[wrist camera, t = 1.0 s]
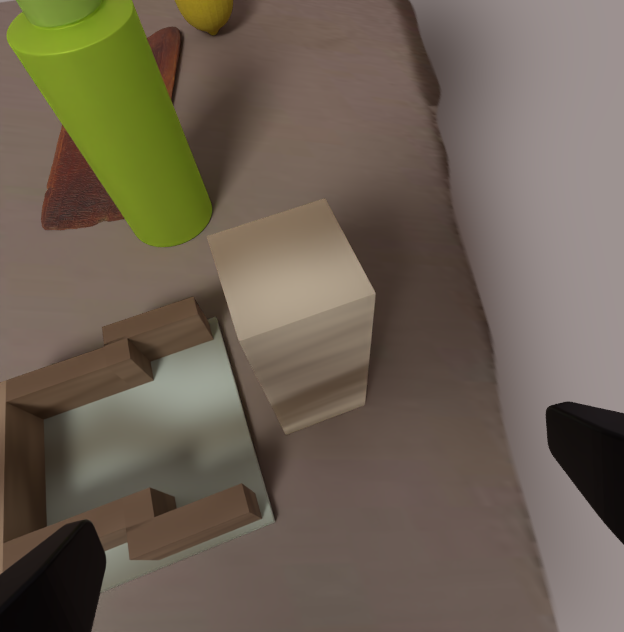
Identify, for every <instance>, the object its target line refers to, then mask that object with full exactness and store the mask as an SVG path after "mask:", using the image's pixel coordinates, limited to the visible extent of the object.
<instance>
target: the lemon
mask: <svg viewBox="0 0 624 632" xmlns="http://www.w3.org/2000/svg"><path fill="white" fill-rule="evenodd" d="M175 2H176V4H177V6H178V9H179V10H180V12H181V14H182V15H183V17H184V18H185V19H186V21H187V22H188V23H189V24H191V25H192V26H193V27H195V28H197V29H199V30H201V31H206V32H208V33H209V34H211V35H216V34H217V32H218V31H219V29H220V28H221V27H223V26H224V25H225V24H226V23H227V21H228V19H229V17H230V15H231V13H232V8H233V0H175Z"/></svg>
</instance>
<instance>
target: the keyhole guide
mask: <svg viewBox="0 0 624 632" xmlns="http://www.w3.org/2000/svg"><path fill="white" fill-rule="evenodd" d="M102 331H103V339H104V347H102V348H99V349H96V350H94V351H91V352H88V353H85V354H82V355H79V356H76V357H73V358H70V359H67V360H64V361H61V362H58V363H56V364H53V365H50V366H47V367H44V368H41V369H38V370H35V371H32V372H29V373H26V374H23V375H20V376H18V377H15V378H12V379H9V380H6V381H3V382H0V574H1V573H3V572H4V571H5V570H6V569H8V568H9V567H10V566H12V565H13V564H14V563H16V562H17V561H18V560H19V559H21V558H22V557H23V556H25V555H26V554H27V553H29V552H30V551H31V550H32V549H34V548H35V547H36V546H38V545H39V544H40V543H41V542H43V541H44V540H45V539H47V538H48V537H49V536H51V535H52V534H53V533H54V532H56V531H57V530H58V529H60V528H61V527H62V526H64V525H65V524H68V523H72V522H76V521H80V520H84V519H87V520H90V521H91V522H92V523H93V525H94V527H95V529H96V532H97V534H98V536H99V539H100V541H101V544H102V546H103V548H104V551H105V554H106V570H105V574H104V578H103V583H102V587H101V591H100V593H101V592H104V591H106V590H109V589H111V588H114V587H116V586H119V585H121V584H123V583H126V582H128V581H131V580H133V579H136V578H138V577H141V576H143V575H146V574H148V573H151V572H153V571H156V570H158V569H161V568H163V567H165V566H168V565H170V564H173V563H175V562H178V561H180V560H183V559H185V558H188V557H190V556H193V555H195V554H198V553H200V552H203V551H205V550H207V549H210V548H212V547H215V546H217V545H220V544H222V543H225V542H227V541H230V540H232V539H235V538H237V537H240V536H242V535H245V534H247V533H250V532H252V531H254V530H257V529H259V528H262V527H264V526H267V525H269V524H272V523H274V522H275V518H274V515H273V512H272V508H271V505H270V501H269V498H268V494H267V491H266V487H265V484H264V480H263V477H262V473H261V470H260V466H259V463H258V459H257V456H256V452H255V449H254V445H253V442H252V438H251V435H250V431H249V428H248V424H247V421H246V417H245V414H244V410H243V407H242V403H241V400H240V396H239V393H238V389H237V386H236V382H235V379H234V375H233V372H232V368H231V365H230V361H229V358H228V354H227V351H226V347H225V344H224V340H223V337H222V333H221V330H220V326H219V323H218V319H217V318H216V317H213V318H210V319H206V317H205V315H204V314H203V312H202V310H201V309H200V307H199V305H198V303H197V302H196V300H195V298H194V297H190V298H187V299H184V300H181V301H178V302H175V303H172V304H169V305H166V306H163V307H160V308H157V309H154V310H151V311H148V312H145V313H142V314H139V315H136V316H133V317H131V318H128V319H125V320H122V321H119V322H116V323H113V324H110V325H107V326H104V327H102Z"/></svg>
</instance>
